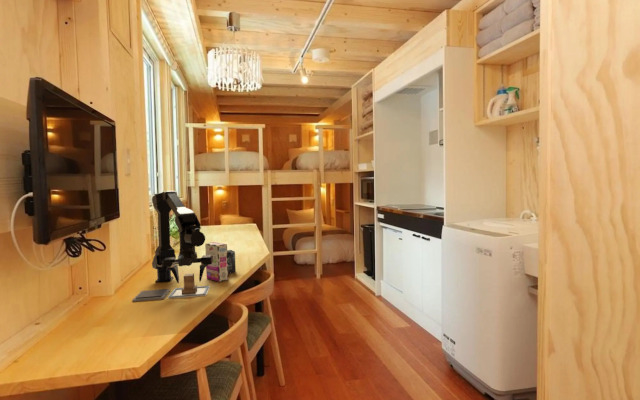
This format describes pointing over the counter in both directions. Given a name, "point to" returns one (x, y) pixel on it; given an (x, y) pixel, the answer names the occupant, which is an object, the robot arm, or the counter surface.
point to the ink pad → (151, 295)
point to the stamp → (189, 284)
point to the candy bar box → (217, 262)
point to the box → (231, 261)
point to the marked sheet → (178, 294)
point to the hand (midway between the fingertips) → (189, 282)
